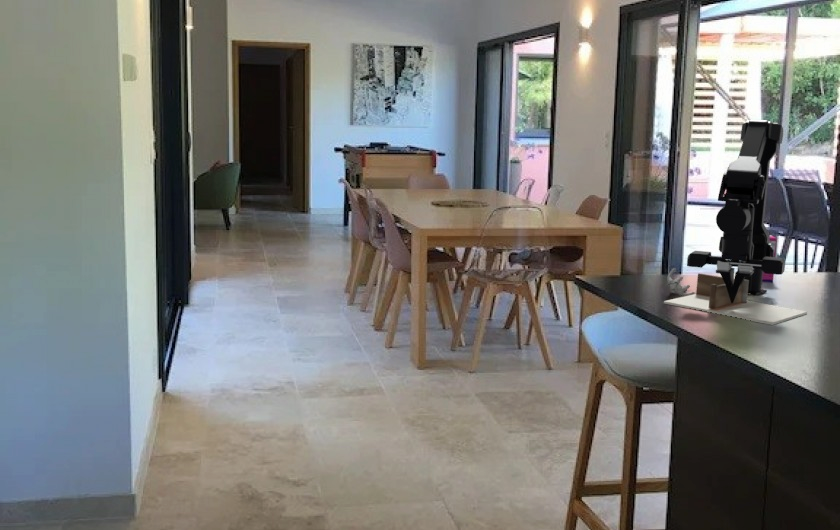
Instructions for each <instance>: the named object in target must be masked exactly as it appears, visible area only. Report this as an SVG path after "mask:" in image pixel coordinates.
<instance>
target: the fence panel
mask: <svg viewBox="0 0 840 530" xmlns="http://www.w3.org/2000/svg"><path fill="white" fill-rule="evenodd" d="M742 285H743V283H742ZM742 285H741V287H740V289H739V292H738V294H737V296H736V299H735V301H734V303H731V301H730V298H729V294H728V291H727V288H726V285H725V284H722V285H716V284H711V287H710V298H709V308H712V309H714V308H717V307H721V306H726V305H730V304H735V303H739V302H741V295H742Z"/></svg>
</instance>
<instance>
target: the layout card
mask: <svg viewBox="0 0 840 530" xmlns="http://www.w3.org/2000/svg"><path fill="white" fill-rule="evenodd" d="M709 298H710V296H705V295H699V294H693V295H689V296H680V297H675V298H673V299H667V300H664V301H663V304H665V305H670V306H673V307H675V306H676V307H680V308H686V309H689V308H691V309H690V310H694V309H696V310H695V311H699V310H702V311H701V312H704V311H707V312H706V313H710V312H712V313H711V314H715V313H717V314H716V315H720V314H722V315H721V316H725V315H727V316H726V317H730V316H732V317H731V318H735V317H737V318H736V319H740V318H742V319H741V320H745V319H746V320H745V321H750V320H751V321H750V322H755V323H760V324H765V325H771V326H773V325H776V324H779V323H782V322H783V323H784V322H786V321H789V320H791V319H795V318H798V317H801V316H805V315H807V313H808V311H805V310H799V309H793V308H788V307H783V306H777V305H771V304H768V303H761V302H756V301H751V300H747V303H735V304H730V305H726V306H721V307H717V308H714V309H712V308H709Z"/></svg>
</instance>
